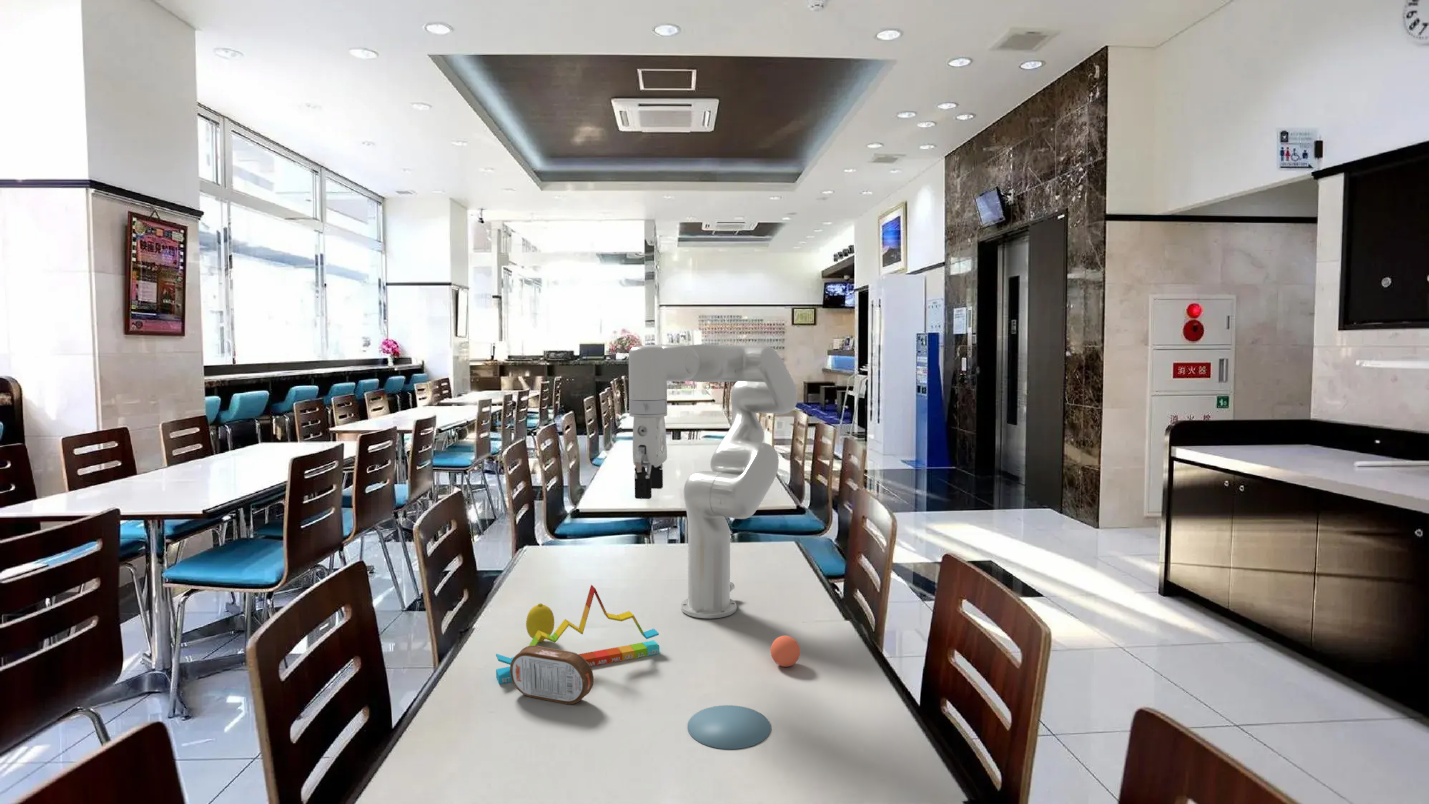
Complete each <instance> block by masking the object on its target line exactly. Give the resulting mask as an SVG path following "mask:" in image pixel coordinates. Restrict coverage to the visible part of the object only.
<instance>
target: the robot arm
mask: <svg viewBox="0 0 1429 804" xmlns="http://www.w3.org/2000/svg"><path fill="white" fill-rule="evenodd" d="M686 381H687V382H688V381H689V382H696V383H724V382H725V383H730V382H734V385H733V386H732V388H731V392H730V403H731V416H732V417H731V418H732V422H731V424H730V427H729V430H727V432H726V434H725V435H724V437H723V438H722V440H721V441H720V443H719V444H718V446H717V447H716V449H715V450H714V453H713V454H712V455H711V459H710V469H711V471H709V470H703V471H696V472H693V474H691V475H689V477H687V479H686V481H685V482H684V486H683V500H684V505H685V511H686V516H687V518H686V519H687V529H688V531H687V534H688V536H687V537H688V538H687V539H688V540H687V541H688V542H687V549H688V550H687V556H688V557H687V598H686V599H684V600H683V601H682V602H681V605H680V606H681V607H680V608H681V611H682V613H684V614H686V615H687V616H690V617H693V618H698V619H707V620H708V619H719V618H720V619H721V618H726V617H729V616H731V615H733V614H734V613H736V611H737V602H735V600H733V599H732V598H731V592H732V591H733V590H734V589H735V584H734V583H733V582H731V532H730V531H731V530H730V527H729V525H728V522H727V519H726V518H731V519H736V520H737V519H738V520H745V519H748V518H751V517H752V516H754V514H755V513H756V511H757V510H758V509H759V507H760V506H761V504H762V501H763V499H764V498H765V497H766V495H767V493H768V491H769V490H770V488H771V486H772V485H773V483H774V480H775V479H776V476H777V473H778V470H779V464H780V463H779V455H778V451H777V450H776V448H775V447H774V446H772V445H771V444H769V443H766V442H763V441H764V438H765V432H764V429H763V426H762V425H761V422H760V421H759V418H758V416H757V414H758V413H759V414H772V415H773V414H774V415H782V414H783V415H785V414H789V413H791V412H792V411H793V410H794V409H795V407H796V406H797V403H798V399H799V398H798V394H799V393H798V390H797V386H796V384H795V382H794V379H793V378H792V376H791V374H790V372H789V370H788V368H787V366H786V364H785V363H784V361H783V358H782V357H781V356H780V354H778V352H777V351H776V350H775V349H774V348H773V347H772V346H769V345H741V344H739V345H737V344H733V345H732V344H715V343H713V344H712V343H706V344H704V343H703V344H701V343H700V344H690V345H684V344H645V345H642V346H641V345H640V346H633V347H631V348H630V349H629V351H628V397H629V398H628V399H629V400H628V402H629V403H628V404H629V405H628V406H629V408H628V409H629V411H628V412H629V413H628V414H629V417H631V418H633V425H632V462H633V466H634V469H633V470H634V498H635V499H637V500H638V499H640V500H650V499H652V497H653V496H652V494H653V493H652V492H653V491H652V489H654V490H655V489H656V490H657V489H658V490H662V489H663V488H664V480H663V479H664V477H663V476H664V473H663V472H664V471H663V467H664V466H663V463H665V462H666V461H667V459H668V450H667V448H668V447H667V445H668V444H667V429H666V420H665V417H667V416H668V382H686Z"/></svg>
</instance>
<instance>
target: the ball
mask: <svg viewBox="0 0 1429 804" xmlns="http://www.w3.org/2000/svg"><path fill="white" fill-rule="evenodd" d="M800 655H801V647H800V645H799V643H798V641H797V640H796V639H794V637H792V636H789V635H780V636H778V637H777V638H775V639H774V640H773V641H772V644H771V646H770V656H771V658H772V659H773V662H774V663H776V664H777V665H779V666H780V667H786V668H787V667H791V666H793V665H794V664H796V663H797V662H798V660H799V658H800Z"/></svg>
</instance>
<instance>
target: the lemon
mask: <svg viewBox="0 0 1429 804" xmlns="http://www.w3.org/2000/svg"><path fill="white" fill-rule="evenodd" d="M525 626H526V627H525V628H526V631H527V634H528V635H529V637H530V638H532V639H533V638H534V636H535V635H536V633H537V631H538V630H539V631H541V632H544V633H546V634H549V635H551V636H552V633H554V628H555V616H554V612H553V610H552V609H551V608H550V607H549V606H547V605H546V604H543V603H541V602H540V603H538V604H536V605H534V606H533V607H532V608H531V609H530V610H529V611H528V613H527V616H526V622H525ZM544 640H546V639H545V638H542V637H541V638H540V640H539V642H538V643H543V642H544Z"/></svg>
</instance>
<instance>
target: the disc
mask: <svg viewBox="0 0 1429 804" xmlns="http://www.w3.org/2000/svg"><path fill="white" fill-rule="evenodd" d="M687 731H688V733H689V735H690V736H691V737H692V738H693V739H694V740H695V741H697V742H698V743H700V744H701V745H705V746H707V747H711V748H715V749H720V750H738V749H739V750H740V749H745V748H746V749H747V748H750V747H753V746H755V745H758V744H760V743H761V742H763V741H765V740H766V739H767V738H768V736H769V735H770V733H771V724H770V721H769V719H768V718H767V717H766V716H765V715H764V714H762V713H761V712H759V711H757V710H755V709H752V708H749V707H746V706H740V705H733V704H732V705H730V704H729V705H727V704H726V705H725V704H724V705H715V706H711V707H706V708H704V709H701V710H700V711H698V712H696V713H694V714H693V715H692V716H691V717H690V718H689V720H688V722H687Z"/></svg>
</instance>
